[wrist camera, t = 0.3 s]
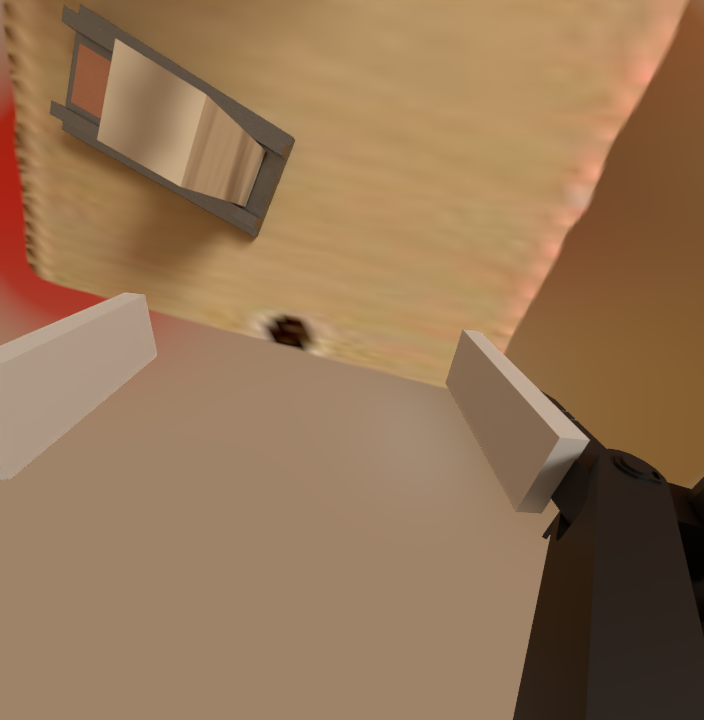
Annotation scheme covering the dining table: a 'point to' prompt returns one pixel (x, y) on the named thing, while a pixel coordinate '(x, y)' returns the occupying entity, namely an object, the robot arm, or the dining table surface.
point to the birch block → (176, 129)
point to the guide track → (95, 65)
